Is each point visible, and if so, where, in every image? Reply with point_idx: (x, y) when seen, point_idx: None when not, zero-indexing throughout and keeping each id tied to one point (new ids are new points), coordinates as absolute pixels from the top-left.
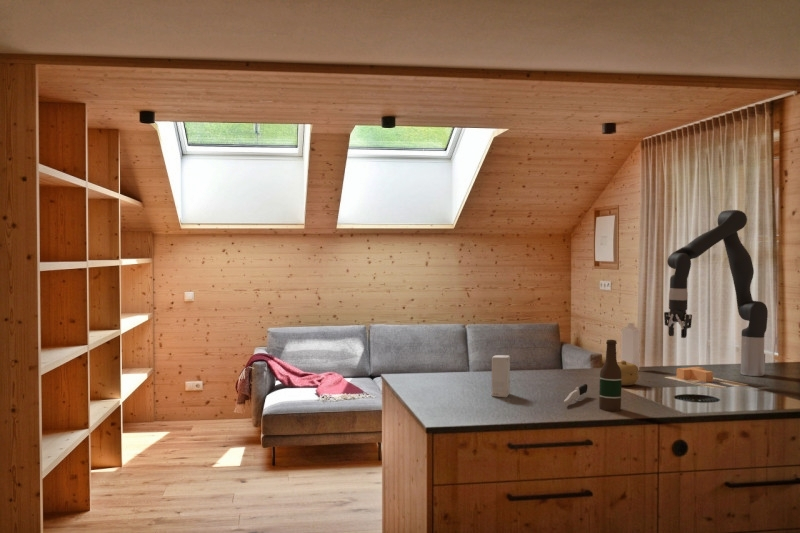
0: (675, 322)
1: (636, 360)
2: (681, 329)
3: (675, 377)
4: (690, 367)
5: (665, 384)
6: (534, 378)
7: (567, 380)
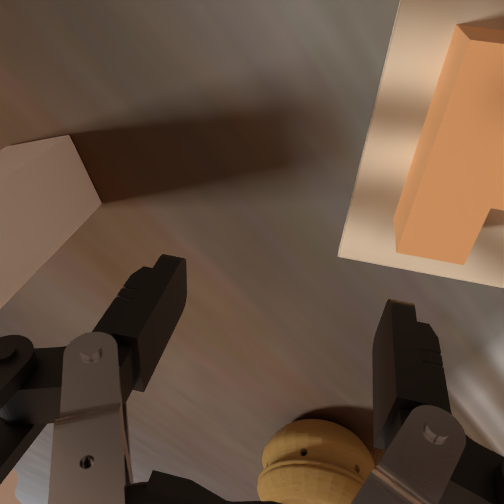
0: (123, 428)
1: (48, 198)
2: (378, 446)
3: (382, 213)
4: (440, 130)
5: None
6: None
7: (182, 471)
